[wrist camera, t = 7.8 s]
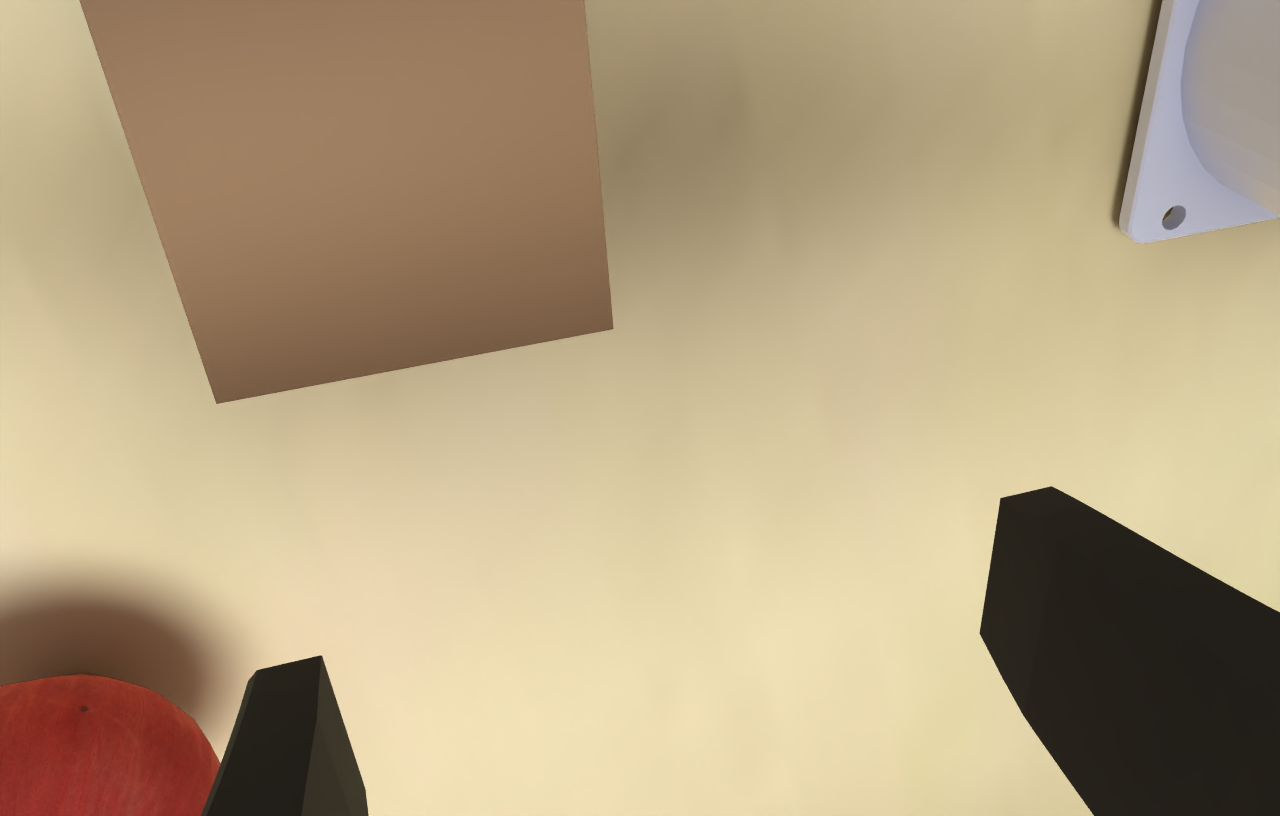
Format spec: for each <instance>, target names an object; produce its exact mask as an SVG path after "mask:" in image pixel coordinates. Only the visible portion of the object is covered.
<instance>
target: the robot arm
mask: <svg viewBox="0 0 1280 816" xmlns="http://www.w3.org/2000/svg"><path fill="white" fill-rule="evenodd" d="M1172 207H1173V209H1172V211H1171V214H1170V215H1169V216H1168V217H1167V218H1166V219H1165V220H1163V217H1164V215H1165V213H1166V212H1167V211H1168V210H1169V209H1170V208H1172ZM1276 218H1280V0H1162V5H1161V11H1160V16H1159V21H1158V26H1157V31H1156V36H1155V41H1154V46H1153V51H1152V56H1151V61H1150V66H1149V71H1148V76H1147V81H1146V87H1145V92H1144V97H1143V102H1142V107H1141V112H1140V117H1139V122H1138V127H1137V132H1136V137H1135V142H1134V147H1133V152H1132V158H1131V163H1130V168H1129V173H1128V178H1127V183H1126V188H1125V193H1124V198H1123V203H1122V208H1121V213H1120V218H1119V228H1120V230H1121V232H1122V234H1124V235H1125V236H1127V237H1128V238H1130V239H1131V240H1133V241H1134V242H1136V243H1145V244H1146V243H1151V242H1156V241H1161V240H1167V239H1172V238H1177V237H1182V236H1188V235H1193V234H1198V233H1203V232H1208V231H1214V230H1219V229H1224V228H1229V227H1235V226H1240V225H1245V224H1250V223H1255V222H1261V221H1266V220H1271V219H1276ZM1162 220H1163V221H1162ZM980 635H981V637H982V639H983V641H984V643H985V645H986V647H987V649H988V651H989V653H990V654H991V656H992V658H993V660H994V662H995V664H996V666H997V668H998V670H999V672H1000V674H1001V676H1002V678H1003V680H1004V681H1005V683H1006V685H1007V687H1008V689H1009V690H1010V692H1011V694H1012V696H1013V698H1014V699H1015V701H1016V703H1017V705H1018V707H1019V708H1020V710H1021V712H1022V714H1023V716H1024V717H1025V719H1026V720H1027V721H1028V723H1029V724H1030V726H1031V727H1032V729H1033V730H1034V732H1035V733H1036V735H1037V736H1038V737H1039V739H1040V740H1041V742H1042V743H1043V745H1044V746H1045V747H1046V749H1047V750H1048V752H1049V753H1050V754H1051V756H1052V757H1053V759H1054V760H1055V762H1056V763H1057V764H1058V766H1059V767H1060V769H1061V770H1062V772H1063V773H1064V774H1065V776H1066V777H1067V779H1068V780H1069V781H1070V783H1071V784H1072V786H1073V787H1074V788H1075V790H1076V791H1077V793H1078V794H1079V795H1080V797H1081V798H1082V800H1083V801H1084V802H1085V804H1086V805H1087V807H1088V808H1089V809H1090V811H1091V812H1092V813H1093V815H1094V816H1280V612H1278V611H1276V610H1274V609H1272V608H1270V607H1268V606H1266V605H1264V604H1263V603H1261V602H1259V601H1257V600H1255V599H1253V598H1251V597H1250V596H1248V595H1246V594H1244V593H1242V592H1240V591H1238V590H1237V589H1235V588H1233V587H1231V586H1229V585H1227V584H1226V583H1224V582H1222V581H1220V580H1218V579H1217V578H1215V577H1213V576H1211V575H1209V574H1208V573H1206V572H1204V571H1202V570H1200V569H1199V568H1197V567H1195V566H1193V565H1192V564H1190V563H1188V562H1186V561H1184V560H1183V559H1181V558H1179V557H1177V556H1176V555H1174V554H1172V553H1170V552H1169V551H1167V550H1165V549H1163V548H1162V547H1160V546H1158V545H1156V544H1155V543H1153V542H1151V541H1149V540H1148V539H1146V538H1144V537H1142V536H1141V535H1139V534H1137V533H1135V532H1134V531H1132V530H1130V529H1128V528H1127V527H1125V526H1123V525H1121V524H1120V523H1118V522H1116V521H1114V520H1113V519H1111V518H1109V517H1107V516H1106V515H1104V514H1102V513H1100V512H1098V511H1097V510H1095V509H1093V508H1091V507H1090V506H1088V505H1086V504H1084V503H1082V502H1080V501H1079V500H1077V499H1075V498H1073V497H1071V496H1069V495H1067V494H1065V493H1064V492H1062V491H1060V490H1058V489H1056V488H1054V487H1052V486H1051V487H1047V488H1042V489H1038V490H1034V491H1029V492H1025V493H1021V494H1017V495H1012V496H1008V497H1004V498H1001V499H1000V506H999V512H998V519H997V525H996V531H995V538H994V544H993V551H992V557H991V564H990V570H989V576H988V583H987V589H986V596H985V602H984V609H983V615H982V622H981V628H980ZM201 816H368V807H367V799H366V790H365V787H364V784H363V781H362V777H361V774H360V771H359V768H358V765H357V762H356V759H355V756H354V753H353V750H352V747H351V744H350V741H349V738H348V734H347V731H346V728H345V725H344V722H343V719H342V716H341V713H340V710H339V707H338V704H337V701H336V698H335V695H334V691H333V688H332V685H331V682H330V679H329V676H328V673H327V670H326V667H325V664H324V661H323V658H322V655H321V656H316V657H312V658H308V659H303V660H299V661H295V662H290V663H286V664H282V665H277V666H273V667H269V668H264V669H260V670H257V671H256V672H255V673H254V675H253V676H252V677H251V678H250V680H249V681H248V683H247V687H246V690H245V693H244V697H243V700H242V703H241V707H240V710H239V713H238V716H237V719H236V722H235V725H234V728H233V731H232V734H231V737H230V740H229V742H228V745H227V748H226V751H225V754H224V756H223V759H222V762H221V765H220V767H219V770H218V772H217V775H216V778H215V780H214V783H213V786H212V788H211V791H210V793H209V796H208V799H207V801H206V804H205V806H204V809H203V811H202V813H201Z"/></svg>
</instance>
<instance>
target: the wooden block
mask: <svg viewBox="0 0 1280 816" xmlns="http://www.w3.org/2000/svg"><path fill="white" fill-rule="evenodd" d="M80 3H81V6H82V9H83V12H84V15H85V18H86V21H87V24H88V27H89V30H90V33H91V36H92V39H93V41H94V44H95V47H96V50H97V53H98V56H99V59H100V62H101V65H102V68H103V71H104V74H105V77H106V80H107V83H108V86H109V89H110V92H111V94H112V97H113V100H114V103H115V106H116V109H117V112H118V115H119V118H120V121H121V124H122V127H123V130H124V133H125V136H126V139H127V142H128V145H129V147H130V150H131V153H132V156H133V159H134V162H135V165H136V168H137V171H138V174H139V177H140V180H141V183H142V186H143V189H144V192H145V195H146V197H147V200H148V203H149V206H150V209H151V212H152V215H153V218H154V221H155V224H156V227H157V230H158V233H159V236H160V239H161V242H162V245H163V248H164V250H165V253H166V256H167V259H168V262H169V265H170V268H171V271H172V274H173V277H174V280H175V283H176V286H177V289H178V292H179V295H180V298H181V300H182V303H183V306H184V309H185V312H186V315H187V318H188V321H189V324H190V327H191V330H192V333H193V336H194V339H195V342H196V345H197V348H198V351H199V353H200V356H201V359H202V362H203V365H204V368H205V371H206V374H207V377H208V380H209V383H210V386H211V389H212V392H213V395H214V398H215V401H216V404H218V403H224V402H229V401H234V400H239V399H245V398H250V397H255V396H261V395H266V394H271V393H277V392H282V391H287V390H292V389H298V388H303V387H308V386H314V385H319V384H324V383H330V382H335V381H340V380H345V379H351V378H356V377H361V376H367V375H372V374H377V373H383V372H388V371H393V370H399V369H404V368H409V367H414V366H420V365H425V364H430V363H436V362H441V361H446V360H452V359H457V358H462V357H467V356H473V355H478V354H483V353H489V352H494V351H499V350H505V349H510V348H515V347H520V346H526V345H531V344H536V343H542V342H547V341H552V340H558V339H563V338H568V337H573V336H579V335H584V334H589V333H595V332H600V331H605V330H611V329H613V319H612V308H611V297H610V286H609V274H608V263H607V252H606V241H605V230H604V219H603V207H602V196H601V185H600V174H599V163H598V152H597V140H596V129H595V118H594V107H593V96H592V85H591V73H590V62H589V51H588V40H587V29H586V18H585V6H584V0H80Z"/></svg>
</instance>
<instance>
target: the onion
mask: <svg viewBox="0 0 1280 816" xmlns="http://www.w3.org/2000/svg"><path fill="white" fill-rule="evenodd" d="M220 765H221V764H220V762H219V760H218V758H217V756H216V754H215V752H214V750H213V748H212V746H211V744H210V743H209V741H208V740H207V738H206V737H205V735H204V734H203V732H202V731H201V729H200V728H199V726H198V724H197V723H196V721H195V720H194V719H193V718H192V717H190V716H189V715H187V714H186V713H185V712H183V711H182V710H181V709H179V708H178V707H176V706H175V705H174V704H172V703H171V702H170V701H168V700H167V699H165V698H164V697H163V696H161V695H160V694H158V693H156V692H154V691H151V690H149V689H147V688H145V687H142V686H138V685H135V684H131V683H128V682H124V681H121V680H117V679H114V678H110V677H103V676H99V675H94V674H90V673H84V674H72V675H68V676H56V677H49V678H43V679H37V680H31V681H25V682H19V683H13V684H7V685H1V686H0V816H201V813H202V811H203V809H204V806H205V804H206V801H207V799H208V796H209V793H210V791H211V788H212V786H213V783H214V780H215V778H216V775H217V772H218V770H219V767H220Z"/></svg>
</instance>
